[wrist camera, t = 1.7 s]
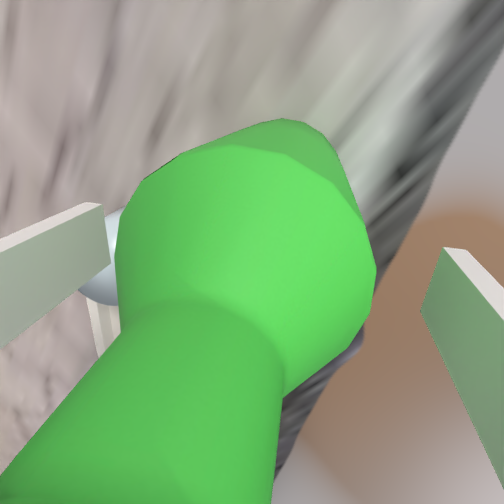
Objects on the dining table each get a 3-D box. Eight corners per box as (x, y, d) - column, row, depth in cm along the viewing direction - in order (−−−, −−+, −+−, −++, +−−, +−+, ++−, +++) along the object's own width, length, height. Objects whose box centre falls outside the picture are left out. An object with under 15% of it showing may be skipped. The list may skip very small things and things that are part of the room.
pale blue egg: (120, 258, 30) (70, 299, 24) (112, 197, 28) (54, 225, 22) (180, 267, 30) (144, 311, 23) (178, 204, 27) (136, 236, 21)
